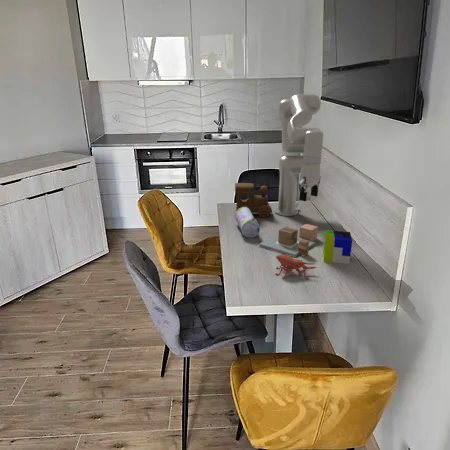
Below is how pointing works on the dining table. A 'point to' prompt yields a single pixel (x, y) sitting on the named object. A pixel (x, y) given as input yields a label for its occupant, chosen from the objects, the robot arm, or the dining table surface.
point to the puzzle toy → (337, 246)
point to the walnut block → (288, 236)
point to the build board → (283, 246)
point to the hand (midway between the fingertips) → (308, 198)
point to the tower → (303, 247)
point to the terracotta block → (308, 232)
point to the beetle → (291, 265)
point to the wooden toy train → (253, 199)
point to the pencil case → (247, 222)
